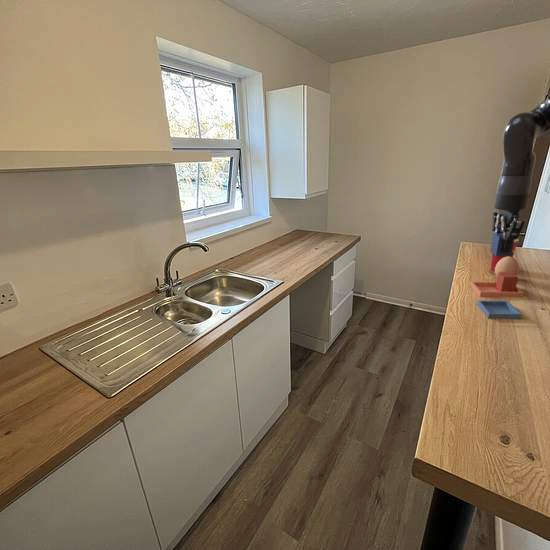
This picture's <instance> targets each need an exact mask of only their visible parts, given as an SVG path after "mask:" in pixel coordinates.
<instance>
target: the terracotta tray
mask: <svg viewBox="0 0 550 550" xmlns="http://www.w3.org/2000/svg"><path fill="white" fill-rule="evenodd" d="M496 282H497V281H471V282H470V287H471V289H473V290H474V292H475V293H476V295H478V296H479V297H494V298H495V297H496V298H497V297H502V298H523V297H524V291H522V290H521V289H520V288H519V287H518V286H516V289H515V292H498V291H497V290H496V289H495V286H496Z"/></svg>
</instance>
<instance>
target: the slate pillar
mask: <svg viewBox="0 0 550 550" xmlns="http://www.w3.org/2000/svg"><path fill="white" fill-rule="evenodd" d="M502 240H503V233H494V232H493V234H492V239H491V245H490V246H491V247H490V253H491V254H492V253H493V254H494V255H495V256H509V255H511V254H512V249H513V244H514V240H512V243H511V248H510V251H509V252H502V251H500V249H501V244H502Z"/></svg>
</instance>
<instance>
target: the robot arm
mask: <svg viewBox="0 0 550 550" xmlns="http://www.w3.org/2000/svg"><path fill="white" fill-rule="evenodd" d="M548 131H550V93H548V95H547V96H546V99H545V100H544V101H542V102H541V103H539V105H538V106H536V107H535V108H533V109H532V110H530V111H525V112H519V113H517V114H515V115H514V116H512V117H511V118H510V119H509V120H508V122H507V123H506V125H505V127H504V130H503V135H502V153H503V154H502V155H503V161H502V166H501V172H500V176H499V180H498V182H497V187H496V193H495V198H494V203H493V208H494V209H495V210H498V211H494V212H492V224H491V225H492V226H491V227H492V228H491V231H492V232H493V233H503V240H502V244H501V249H500V251H502V252H509V251H510V248H511V243H512V240H514V239H519V237H520V235H521V232H522V230H523V228H524V225H525V220H521V219H520V212H521V210H526V209H527V207H528V202H529V197H530V192H531V188H532V183H533V174H534V169H535V164H536V161H537V160H536V159H537V155H536V153H535V152H534V151H533V149H534V143H535V139H537V138H539V137H541V136H543V135H544V134H545V133H547V132H548Z"/></svg>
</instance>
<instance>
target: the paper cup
mask: <svg viewBox="0 0 550 550" xmlns="http://www.w3.org/2000/svg"><path fill="white" fill-rule="evenodd" d="M519 241H520V239H519V238H518V239H514V244H513V249H512V254H511V255H509V256H495V255H494V254H493V253H491V261H490V270H491V271H493V272H495V267H496V264H497V263H498V262H499V261H500V260H501V259H502V258H504V257H513V258H514V254H515V251H516V248H517V245H518V242H519Z"/></svg>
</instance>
